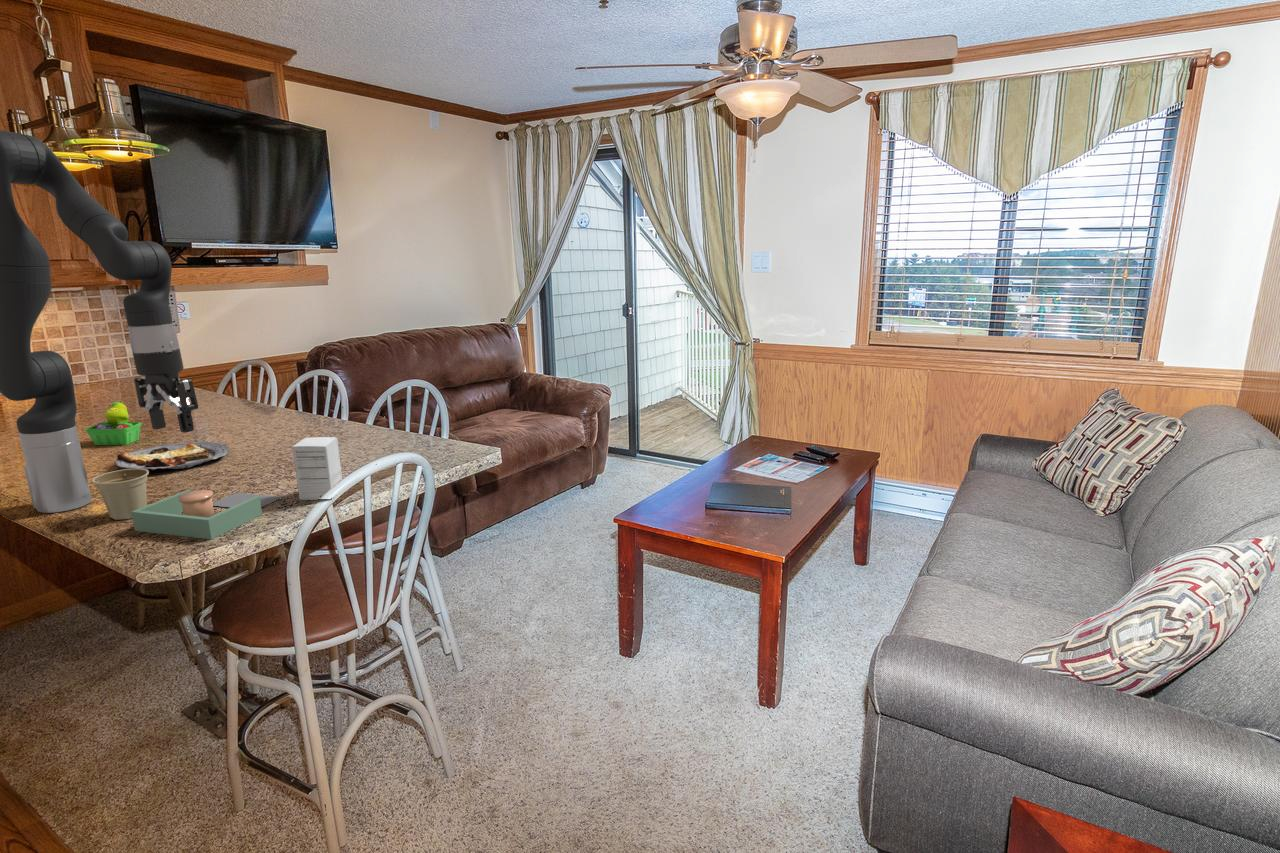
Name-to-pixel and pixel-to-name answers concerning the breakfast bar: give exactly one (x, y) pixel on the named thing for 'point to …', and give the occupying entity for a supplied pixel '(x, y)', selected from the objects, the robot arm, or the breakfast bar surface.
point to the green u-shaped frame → (192, 518)
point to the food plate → (171, 455)
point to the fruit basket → (115, 427)
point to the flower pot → (123, 491)
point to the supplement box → (316, 466)
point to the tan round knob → (197, 503)
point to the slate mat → (244, 499)
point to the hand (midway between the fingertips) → (173, 430)
